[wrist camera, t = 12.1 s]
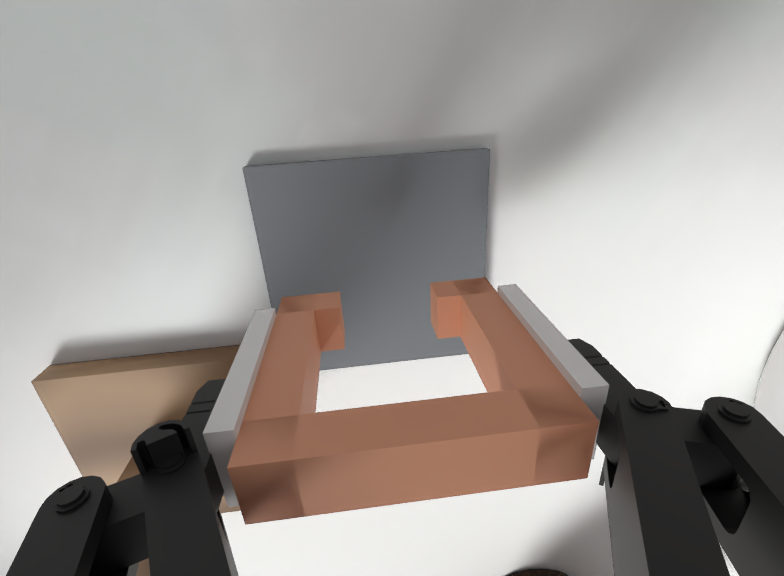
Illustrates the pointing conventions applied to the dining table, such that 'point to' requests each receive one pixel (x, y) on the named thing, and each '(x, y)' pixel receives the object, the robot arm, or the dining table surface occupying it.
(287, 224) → the coaster
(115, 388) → the hook stand
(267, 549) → the dining table surface
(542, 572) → the pitcher
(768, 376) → the bowl
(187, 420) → the robot arm
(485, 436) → the c link
